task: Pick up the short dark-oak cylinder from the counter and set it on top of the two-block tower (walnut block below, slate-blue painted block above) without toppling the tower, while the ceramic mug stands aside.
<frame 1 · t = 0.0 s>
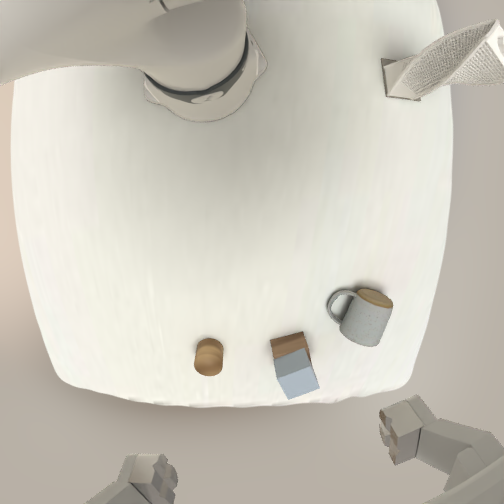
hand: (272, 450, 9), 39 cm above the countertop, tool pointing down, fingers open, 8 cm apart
slate upper block: (294, 364, 49), point 5 cm above the countertop
walnut base block: (289, 348, 54), on the countertop
skyscraper: (398, 83, 40), on the countertop
ceramic mug: (352, 306, 52), on the countertop
oak cylinder: (210, 348, 53), on the countertop
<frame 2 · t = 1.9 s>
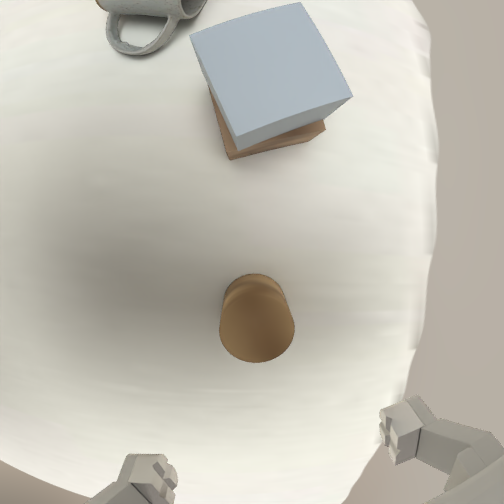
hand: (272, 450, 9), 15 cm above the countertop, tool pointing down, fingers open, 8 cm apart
slate upper block: (263, 93, 16), point 5 cm above the countertop, touching walnut base block
walnut base block: (259, 112, 21), on the countertop, touching slate upper block
ceramic mug: (161, 10, 18), on the countertop
oak cylinder: (254, 302, 24), on the countertop
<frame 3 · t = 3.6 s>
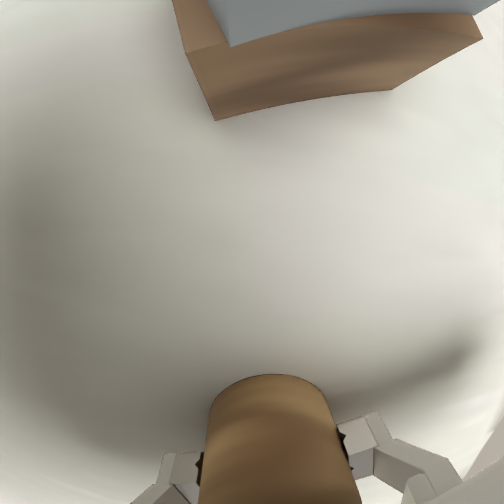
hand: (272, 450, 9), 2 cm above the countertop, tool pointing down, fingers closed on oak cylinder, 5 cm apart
walnut base block: (283, 24, 8), on the countertop, touching slate upper block
oak cylinder: (269, 420, 11), on the countertop, touching gripper
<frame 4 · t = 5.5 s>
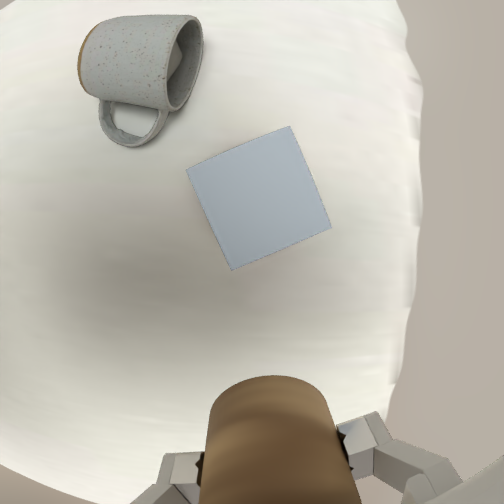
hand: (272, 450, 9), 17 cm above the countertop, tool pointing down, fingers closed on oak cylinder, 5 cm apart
slate upper block: (256, 195, 19), point 5 cm above the countertop, touching walnut base block
ceramic mug: (152, 89, 22), on the countertop
oak cylinder: (269, 421, 11), point 15 cm above the countertop, touching gripper
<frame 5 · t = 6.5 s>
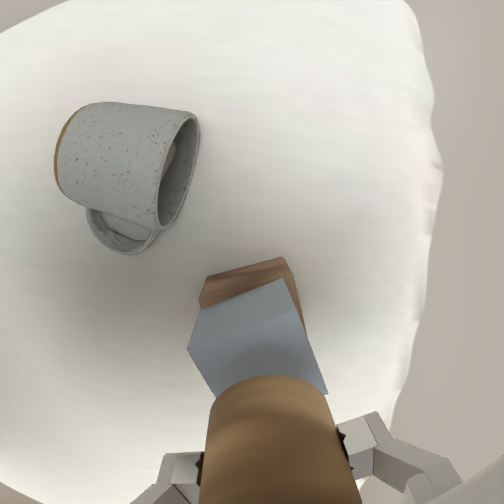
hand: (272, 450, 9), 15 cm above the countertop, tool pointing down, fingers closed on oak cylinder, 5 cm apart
slate upper block: (257, 330, 19), point 5 cm above the countertop, touching walnut base block
walnut base block: (254, 301, 24), on the countertop, touching slate upper block
ceramic mug: (143, 181, 22), on the countertop
oak cylinder: (269, 420, 11), point 13 cm above the countertop, touching gripper
when the fingers open (12 cm above the countertop, at t = 7.4 s): oak cylinder stays where it is, resting on slate upper block.
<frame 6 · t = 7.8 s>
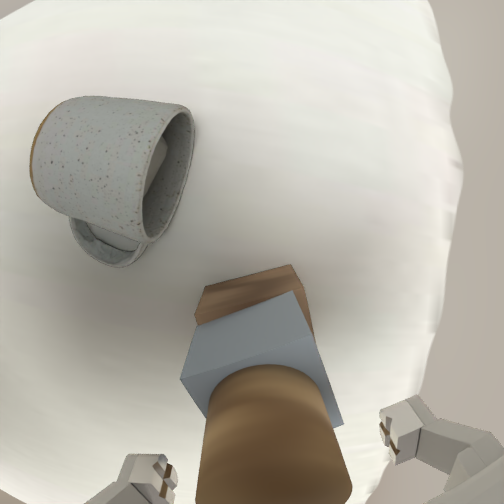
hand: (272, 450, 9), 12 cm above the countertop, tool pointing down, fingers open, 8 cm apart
slate upper block: (262, 350, 16), point 5 cm above the countertop, touching oak cylinder, walnut base block
walnut base block: (258, 314, 21), on the countertop, touching slate upper block
ceramic mug: (133, 185, 19), on the countertop
oak cylinder: (265, 409, 11), point 10 cm above the countertop, touching slate upper block
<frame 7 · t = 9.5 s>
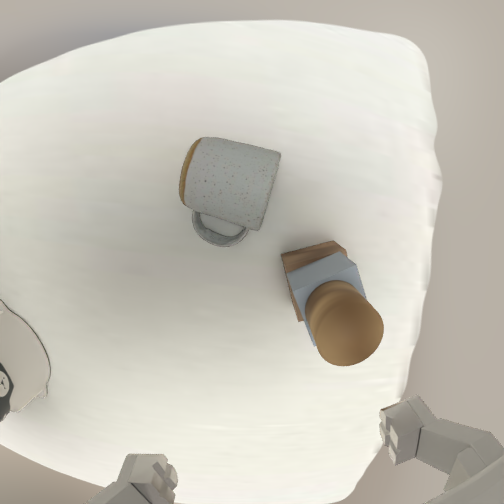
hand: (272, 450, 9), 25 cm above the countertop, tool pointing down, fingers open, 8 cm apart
slate upper block: (322, 287, 29), point 5 cm above the countertop, touching oak cylinder, walnut base block
walnut base block: (312, 272, 33), on the countertop, touching slate upper block
ceramic mug: (232, 194, 32), on the countertop
oak cylinder: (333, 308, 24), point 10 cm above the countertop, touching slate upper block
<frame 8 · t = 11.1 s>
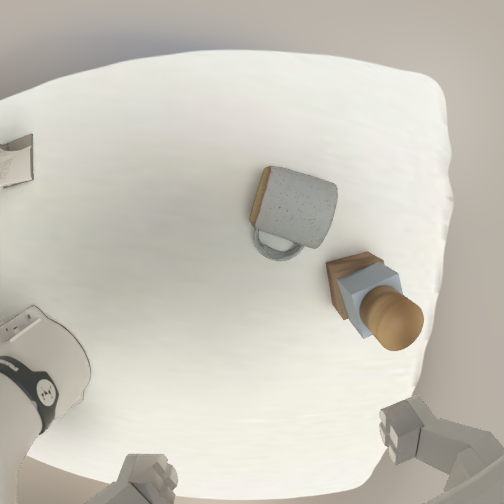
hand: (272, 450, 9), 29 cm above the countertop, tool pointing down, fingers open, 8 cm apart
slate upper block: (364, 291, 34), point 5 cm above the countertop, touching oak cylinder
walnut base block: (350, 278, 38), on the countertop
skyscraper: (21, 164, 34), on the countertop
ceramic mug: (286, 214, 37), on the countertop
oak cylinder: (380, 307, 29), point 10 cm above the countertop, touching slate upper block
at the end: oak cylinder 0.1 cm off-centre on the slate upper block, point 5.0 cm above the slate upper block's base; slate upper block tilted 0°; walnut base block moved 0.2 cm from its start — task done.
